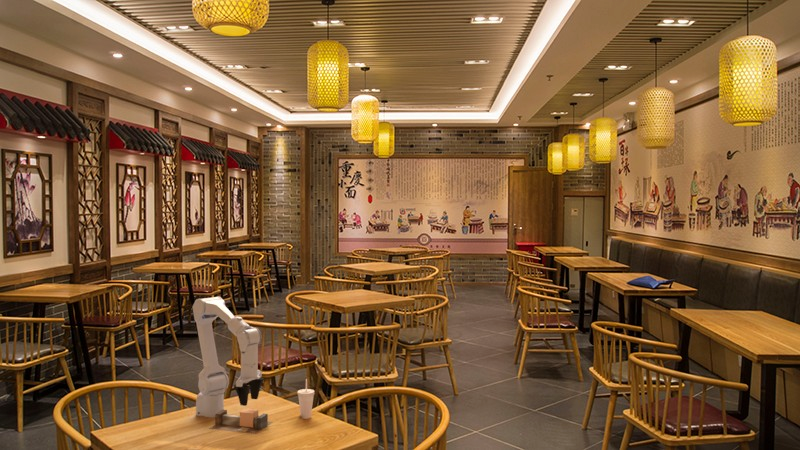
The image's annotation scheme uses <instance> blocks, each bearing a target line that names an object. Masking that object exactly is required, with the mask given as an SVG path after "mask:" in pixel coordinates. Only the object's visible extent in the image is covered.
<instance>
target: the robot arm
mask: <svg viewBox="0 0 800 450" xmlns="http://www.w3.org/2000/svg"><path fill="white" fill-rule="evenodd" d="M191 308H192V312H193V318H194V322H195V323H196V324H195V325H196V329H197V335H198V336H197V337H198V340H199V347H200V351H201V352H200V353H201V358H202V364H203V365H202V366H203V368H202V370H201V371H200V372H199V373H198V383H197V384H198V385H197V386H198V390H199V393H198V394H197V396H196V399H195V416H198V417H199V416H200V417H203V418H204V417H206V418H215V414H216V413H218V412H219V411H221V410H225V409H224V405H225V404H224V403H225V400H224V398H225V392H226V389H228V386H229V384H230V379H229V377H228V375H227V372H226V369H225V367H223V366H221V365H220V364H219V358H218V354H217V353H218V351H217V347H216V342H215V335H214V331H213V325H212V323H213V322H214V320H216V319H217V318H220V320H222V321H224V323H226V324H227V329H228V330H229V331H230V332H231V333H232V334H233V335H234V336H235V337H236V339H237V343H238V345H239V346H238V347H239V350H240V375H239V378H238V379H237V380H236V381H235V384H234V385H233V389H234V390H235V391H236V394H237V397H238V401H239V404H240V406H245V407H246V406H247V405H248V401H249V393H250V398H251V399H252V400H258V397H259V394H260V390H261V387H262V384H263V382H264V380H265V379H264V377H262V374H263V373H262V372H263V371H262V370H259V367H258V365H259V364H258V363H259V361H258V360H259V358H258V357H259V344H260V343H261V341H262V338H263V337H262V332H261V330H260V329H259V328H258V327H253V326H250V324H248V323H247V321H245V320H244V319H243V317H241V316H235V315H234V314H233V313H232V312H231V311H230V310H229V308H228V307H227V306H226V302H225V300H224V299H223V298H222V297H221V296H218V295H217V296H215V297H205V298H196V299H195V301H194V303H193V304H192V307H191ZM247 383H248V385H247Z"/></svg>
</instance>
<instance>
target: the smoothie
mask: <svg viewBox="0 0 800 450" xmlns="http://www.w3.org/2000/svg"><path fill="white" fill-rule="evenodd" d="M296 395H297V396H298V402H299V403H298V405H299V413H300V418H301V419H303V420H308V419H311V418H312V410H313V403H314V396H315V390H314V389H311V388H308V379H307V378H306V379H305V388H302V389H299V390H297V394H296Z"/></svg>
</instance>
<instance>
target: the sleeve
mask: <svg viewBox="0 0 800 450" xmlns="http://www.w3.org/2000/svg"><path fill="white" fill-rule="evenodd" d="M239 416H240V426H243V427H254V418H255V417H259V409H253V408H252V409H251V408H243V409H242V410H241V411H240V412H239Z"/></svg>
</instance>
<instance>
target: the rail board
mask: <svg viewBox="0 0 800 450" xmlns="http://www.w3.org/2000/svg"><path fill="white" fill-rule="evenodd" d="M214 423H215V424H213V426H211V427H209V428H208V429H209V430H218V431H219V430H220V431H227V432H235V433H237V432H238V433H246V434H248V433H249V434H255V435H256V434H258V433H260V432H261V431H262V430H264V429H266V428H267V427H268V426H269V425H271V424H272V423H273V421H269V420H268V413H262V414H260V415H258V417H255V418H254V427H243V426H240V415H237V414H236V415H235V414H234V415H233V414H228V410H227V409H224V410H221V411H219V412H218V413H216V414H215V417H214Z"/></svg>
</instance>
